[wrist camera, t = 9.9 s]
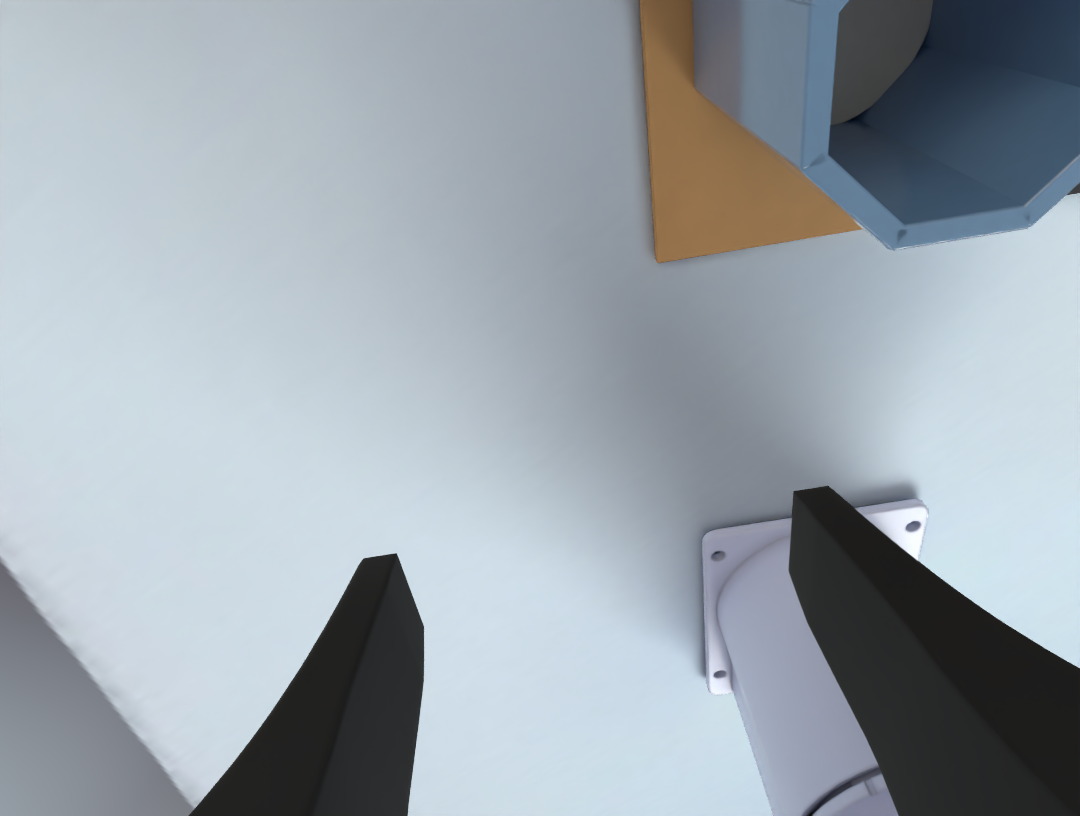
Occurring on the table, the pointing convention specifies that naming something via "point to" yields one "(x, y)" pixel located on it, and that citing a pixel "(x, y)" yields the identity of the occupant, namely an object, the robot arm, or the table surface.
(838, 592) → the robot arm
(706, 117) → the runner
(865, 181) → the mug
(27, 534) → the table surface
